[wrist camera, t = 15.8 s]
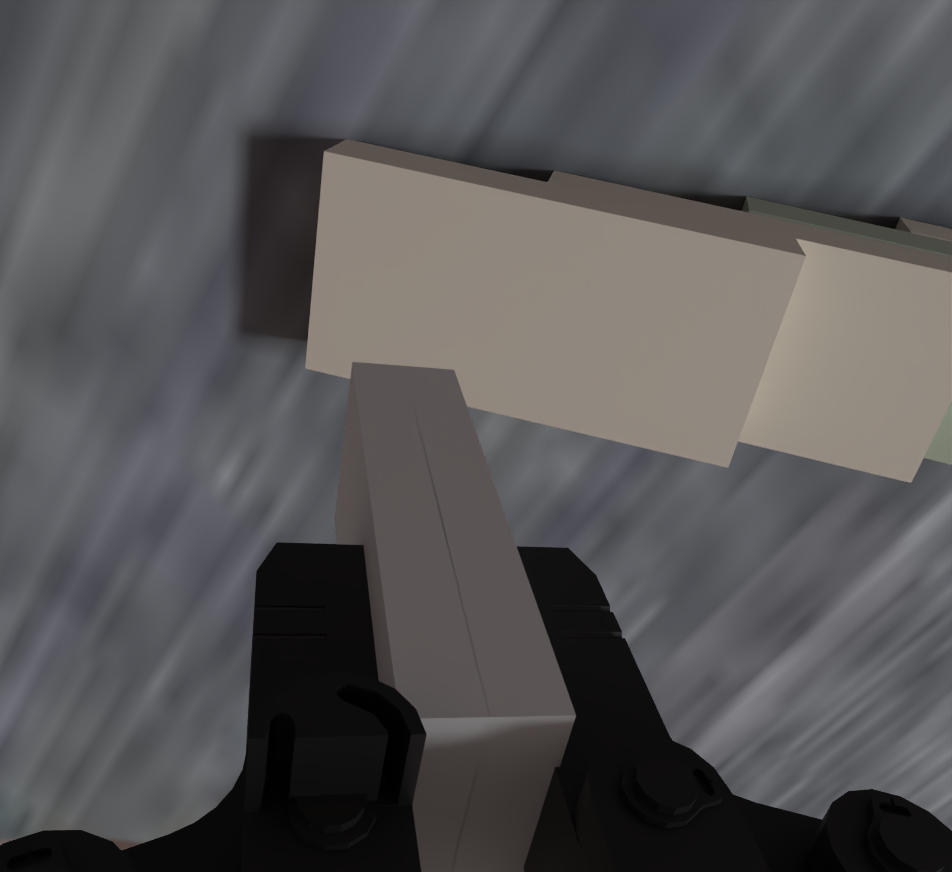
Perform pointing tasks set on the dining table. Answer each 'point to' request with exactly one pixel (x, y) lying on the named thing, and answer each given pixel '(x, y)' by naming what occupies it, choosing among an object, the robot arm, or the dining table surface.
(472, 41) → the dining table surface
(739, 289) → the domino
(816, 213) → the domino
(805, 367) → the domino
